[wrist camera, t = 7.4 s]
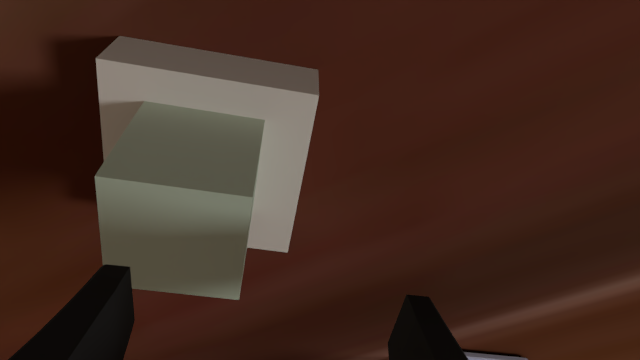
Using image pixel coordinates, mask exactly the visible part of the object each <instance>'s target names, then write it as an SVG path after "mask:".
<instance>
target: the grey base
mask: <svg viewBox="0 0 640 360" xmlns="http://www.w3.org/2000/svg"><path fill="white" fill-rule="evenodd" d="M96 69H97V82H98V95H99V107H100V120H101V132H102V145H103V158H104V161H105V160H106V158H107V157H108V155H109V154H110V152H111V151H112V149H113V148H114V146H115V145H116V143H117V142H118V140H119V138H120V137H121V135H122V134H123V132H124V131H125V129H126V128H127V126H128V125H129V123H130V122H131V120H132V119H133V117H134V116H135V114H136V113H137V111H138V110H139V108H140V107H141V105H142V104H143V102H144V101H147V102H153V103H160V104H166V105H172V106H179V107H185V108H192V109H198V110H205V111H211V112H217V113H224V114H230V115H237V116H243V117H249V118H256V119H262V120H265V123H264V130H263V138H262V145H261V153H260V160H259V167H258V175H257V182H256V189H255V197H254V204H253V211H252V218H251V225H250V231H249V238H248V244H247V248H255V249H263V250H271V251H279V252H287V253H288V248H289V243H290V238H291V233H292V228H293V223H294V218H295V213H296V208H297V203H298V198H299V193H300V188H301V183H302V178H303V173H304V168H305V163H306V158H307V153H308V148H309V143H310V138H311V133H312V128H313V123H314V118H315V113H316V108H317V103H318V98H319V81H318V70H316V69H310V68H304V67H298V66H293V65H287V64H281V63H275V62H269V61H263V60H258V59H252V58H246V57H240V56H234V55H228V54H223V53H217V52H211V51H205V50H199V49H193V48H187V47H182V46H176V45H170V44H164V43H158V42H152V41H147V40H141V39H135V38H129V37H123V36H119V37H118V38H117V39H116V40H114V41H113V42H112V43H111V44H110V45H109V46H108V47H107V48H106V49H105V50H104V51H103V52H102V53H101V54H100V55H99V56H98V57H96Z"/></svg>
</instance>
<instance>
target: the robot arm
mask: <svg viewBox="0 0 640 360" xmlns="http://www.w3.org/2000/svg"><path fill="white" fill-rule="evenodd" d="M133 324H134V308H133V296H132V283H131V271H130V267H128V266H118V265H108V264H105V265H103V266H102V267H101V268H100V269H99V270H98V271H97V272H96V273H95V274H94V275H93V276H92V278H91V279H90V280H89V281H88V282H87V283H86V284H85V285H84V286H83V287H82V288H81V290H80V291H79V292H78V293H77V294H76V295H75V296H74V297H73V298H72V299H71V300H70V301H69V302H68V303H67V304H66V305H65V306H64V307H63V308H62V309H61V310H60V311H59V312H58V313H57V314H56V315H55V316H54V317H53V318H52V319H51V320H50V321H49V322H48V323H47V324H46V325H45V326H44V327H43V328H42V329H41V330H40V331H39V332H38V333H37V334H36V335H35V336H34V337H33V338H32V339H30V340H29V341H28V342H27V343H26V344H25V345H24V346H23V347H22V348H21V349H19V350H18V351H17V352H16V353H15V354H14V355H13V356H12V357H11V358H9V359H8V360H123V358H124V354H125V351H126V348H127V345H128V341H129V338H130V334H131V331H132V327H133ZM388 351H389V360H528V359H526V358H523V357H513V356H502V355H492V354H481V353H471V352H463V351H462V349H461V347H460V346H459V344H458V343H457V341H456V340H455V338H454V337H453V335H452V333H451V332H450V330H449V329H448V327H447V325H446V324H445V322H444V321H443V319H442V317H441V316H440V314H439V312H438V311H437V309H436V308H435V306H434V304H433V303H432V301H431V300H430V298H429V297H424V296H415V295H406V298H405V300H404V303H403V305H402V308H401V310H400V313H399V316H398V318H397V321H396V323H395V326H394V329H393V331H392V334H391V336H390V339H389V342H388Z"/></svg>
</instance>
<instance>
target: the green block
mask: <svg viewBox="0 0 640 360" xmlns="http://www.w3.org/2000/svg"><path fill="white" fill-rule="evenodd" d="M264 123H265V120H262V119H256V118H249V117H243V116H237V115H230V114H224V113H217V112H211V111H205V110H198V109H192V108H185V107H179V106H172V105H166V104H160V103H153V102H147V101H144V102H143V104H142V105H141V107H140V108H139V110H138V111H137V113H136V114H135V116H134V117H133V119H132V120H131V122H130V123H129V125H128V126H127V128H126V129H125V131H124V132H123V134H122V135H121V137H120V138H119V140H118V142H117V143H116V145H115V146H114V148H113V149H112V151H111V152H110V154H109V155H108V157H107V158H106V160H105V161H104V163H103V164H102V166H101V167H100V169H99V170H98V172H97V173H96V175H95V186H96V196H97V207H98V217H99V228H100V239H101V249H102V260H103V265H105V264H108V265H118V266H128V267H130V271H131V283H132V288H133V289H142V290H152V291H161V292H170V293H179V294H189V295H198V296H207V297H216V298H226V299H235V300H239V296H240V290H241V283H242V277H243V270H244V264H245V257H246V251H247V244H248V238H249V231H250V225H251V218H252V211H253V204H254V197H255V189H256V182H257V175H258V167H259V160H260V153H261V145H262V138H263V130H264Z"/></svg>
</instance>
